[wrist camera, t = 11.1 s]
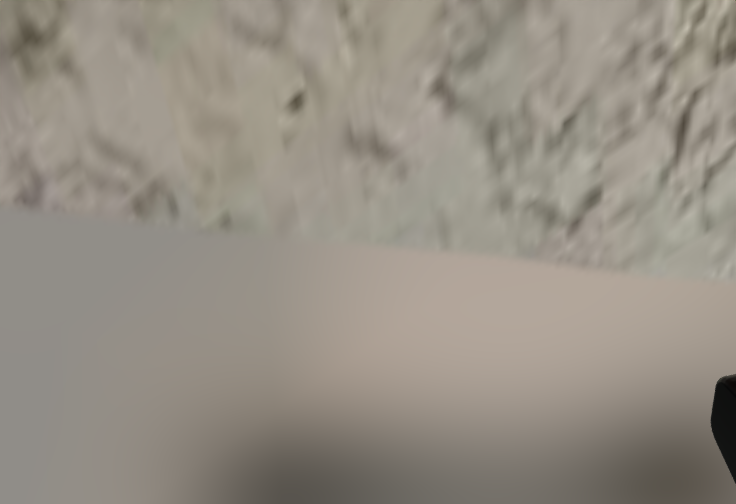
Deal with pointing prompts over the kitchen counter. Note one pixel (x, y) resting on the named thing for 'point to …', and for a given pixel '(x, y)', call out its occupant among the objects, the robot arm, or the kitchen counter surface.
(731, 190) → the kitchen counter surface
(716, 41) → the kitchen counter surface
